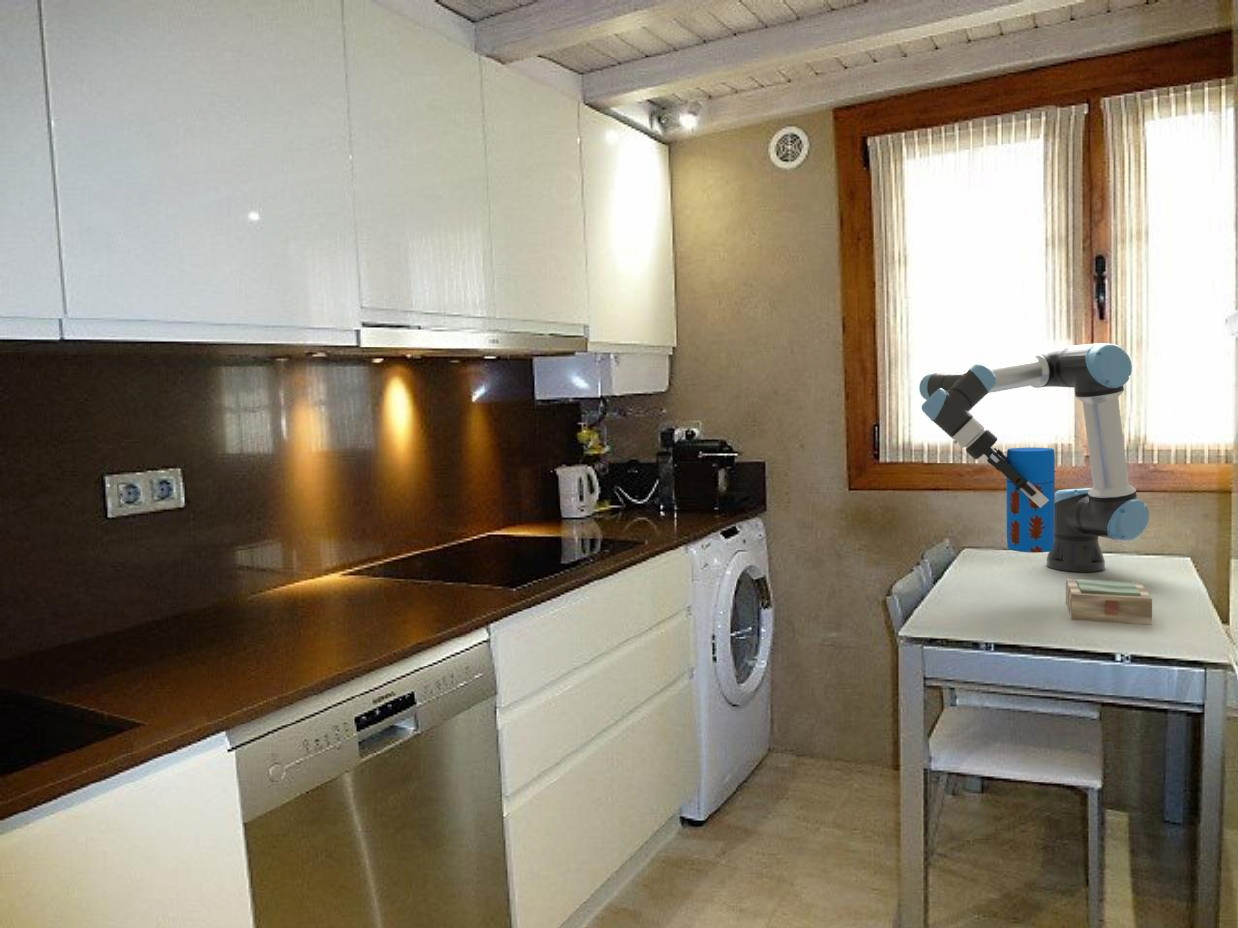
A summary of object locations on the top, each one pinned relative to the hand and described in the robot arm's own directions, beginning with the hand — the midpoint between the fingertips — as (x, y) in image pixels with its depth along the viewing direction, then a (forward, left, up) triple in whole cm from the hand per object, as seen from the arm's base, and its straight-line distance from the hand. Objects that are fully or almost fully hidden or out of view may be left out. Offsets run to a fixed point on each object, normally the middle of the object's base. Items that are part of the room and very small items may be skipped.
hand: (1043, 500), depth 220 cm
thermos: (0, -3, -12) cm, 13 cm away
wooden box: (+9, +13, -25) cm, 30 cm away
